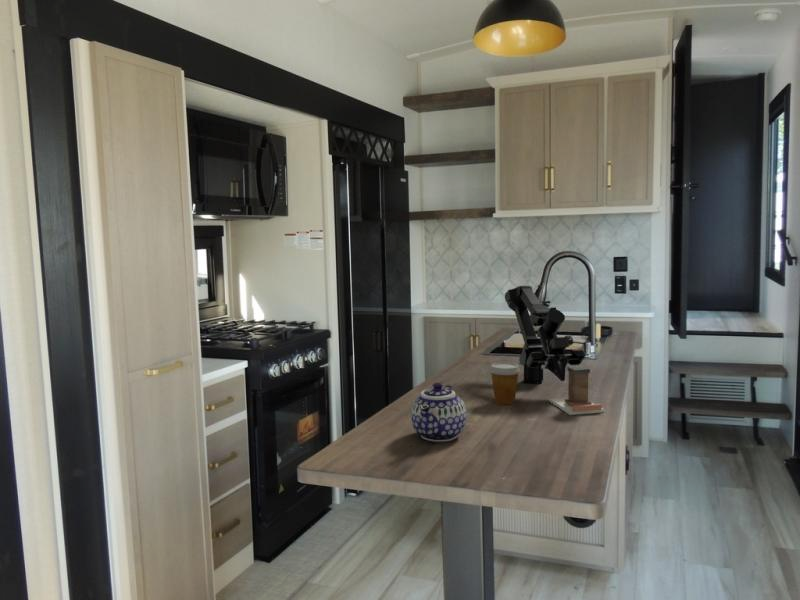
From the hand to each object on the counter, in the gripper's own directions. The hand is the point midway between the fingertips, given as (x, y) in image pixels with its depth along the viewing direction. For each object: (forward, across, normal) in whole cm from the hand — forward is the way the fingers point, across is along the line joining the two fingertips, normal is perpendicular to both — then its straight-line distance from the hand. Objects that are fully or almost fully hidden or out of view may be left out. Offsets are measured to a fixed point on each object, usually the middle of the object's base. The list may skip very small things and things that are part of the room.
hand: (563, 380), depth 217 cm
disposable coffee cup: (+3, -19, +6) cm, 20 cm away
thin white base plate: (+11, 0, -2) cm, 11 cm away
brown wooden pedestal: (+11, 0, -4) cm, 12 cm away
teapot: (+23, -48, -14) cm, 56 cm away
